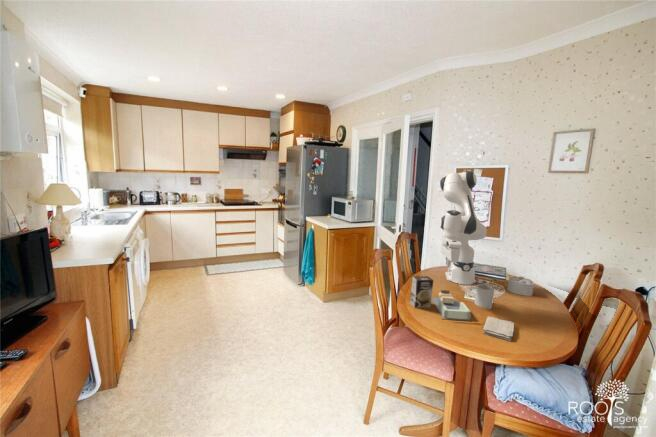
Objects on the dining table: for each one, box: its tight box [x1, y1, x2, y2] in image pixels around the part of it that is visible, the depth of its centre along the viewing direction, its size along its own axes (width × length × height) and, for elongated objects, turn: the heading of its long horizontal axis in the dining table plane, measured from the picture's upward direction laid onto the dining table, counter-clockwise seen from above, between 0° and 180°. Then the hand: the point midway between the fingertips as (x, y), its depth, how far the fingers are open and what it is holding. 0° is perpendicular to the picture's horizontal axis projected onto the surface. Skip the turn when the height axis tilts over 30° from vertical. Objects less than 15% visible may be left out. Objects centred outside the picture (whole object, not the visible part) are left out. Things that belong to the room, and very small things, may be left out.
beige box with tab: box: [438, 289, 455, 305], centre depth 171 cm, size 7×6×6 cm
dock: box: [431, 296, 472, 323], centre depth 164 cm, size 24×14×5 cm, turn 175°
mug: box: [474, 283, 495, 310], centre depth 171 cm, size 12×8×11 cm
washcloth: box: [482, 316, 515, 342], centre depth 146 cm, size 12×18×3 cm, turn 148°
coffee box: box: [409, 275, 434, 309], centre depth 165 cm, size 9×6×16 cm
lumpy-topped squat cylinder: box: [507, 276, 535, 297], centre depth 192 cm, size 10×13×9 cm
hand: (448, 265), depth 171 cm, fingers closed
